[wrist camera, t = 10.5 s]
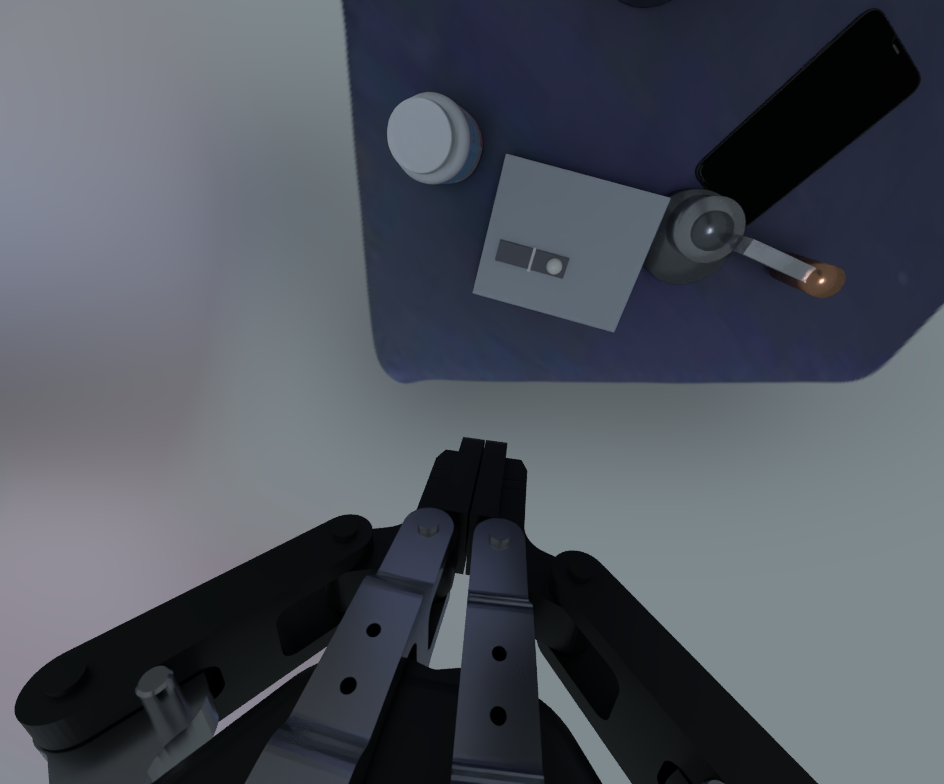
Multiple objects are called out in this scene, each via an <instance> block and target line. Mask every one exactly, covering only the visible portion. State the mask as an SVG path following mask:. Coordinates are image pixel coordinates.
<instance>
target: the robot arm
mask: <svg viewBox="0 0 944 784" xmlns="http://www.w3.org/2000/svg"><path fill="white" fill-rule="evenodd" d="M620 1H621V2H624V3H626V4H628V5H631V6H636V7H652V6H658V5H661V4H663V3H666V2H668V1H671V0H620ZM484 444H485V448H484ZM506 451H507V443H503V442H497V441H489V440H486V443H485V440H481V439H474V438H466V437H463V439H462V442H461V446H460V449H459V451H452V450H445V451H444V452H443V453H441V454H440V455H439V456H438V457H437V458H436V460H435V463H434V465H433V468H432V471H431V473H430V476H429V479H428V481H427V484H426V486H425V489H424V492H423V495H422V497H421V500H420V502H419V505H418V508H417V510H415V511H413V512H412V513H410V514H409V515H408V516H407V517H406V518H405V520H404V522H403V523H402V524H400V525H397V526H393V527H386V528H378V529H377V528H376V529H372V525H371V524H370V522H369V521H368V520H367V519H366V518H364V517H362V516H359V515H352V514H349V515H342V516H338V517H336V518H333V519H331V520H329V521H327V522H325V523H324V524H321V525H319V526H317V527H315V528H313V529H311V530H309V531H307V532H305V533H303V534H301V535H299V536H297V537H295V538H293V539H291V540H289V541H287V542H285V543H283V544H281V545H279V546H277V547H275V548H273V549H271V550H269V551H267V552H265V553H263V554H261V555H259V556H257V557H255V558H253V559H251V560H249V561H248V562H245V563H243V564H241V565H239V566H237V567H235V568H233V569H231V570H229V571H227V572H225V573H223V574H221V575H219V576H217V577H215V578H213V579H211V580H209V581H207V582H205V583H203V584H201V585H199V586H197V587H195V588H193V589H191V590H189V591H187V592H185V593H183V594H181V595H179V596H177V597H175V598H173V599H171V600H169V601H167V602H165V603H163V604H161V605H159V606H157V607H155V608H153V609H151V610H149V611H147V612H145V613H143V614H141V615H139V616H137V617H135V618H133V619H131V620H129V621H127V622H125V623H123V624H121V625H119V626H117V627H115V628H113V629H111V630H109V631H107V632H105V633H104V634H101V635H99V636H97V637H95V638H93V639H91V640H89V641H87V642H85V643H83V644H81V645H79V646H77V647H75V648H73V649H71V650H69V651H67V652H65V653H63V654H61V655H60V656H58V657H56V658H55V659H53V660H52V661H50V662H49V663H47V664H46V665H45V666H44V667H42V668H41V669H40V670H39V671H38V672H36V673H35V674H34V675H33V677H31V679H30V680H29V681H28V682H27V683H26V685H25V686H24V687H23V689H22V690H21V692H20V694H19V696H18V698H17V700H16V704H15V715H16V718H17V719H18V721H19V722H20V723H21V724H22V725H23V727H24V728H25V729H26V730H27V732H28V733H29V734H30V735H31V737H32V738H33V743H34V746H35V747H36V748H37V749H38V751H39V752H40V753H41V754H42V756H43V757H44V758H45V759H46V760H47V762H48V773H49V784H602V783H601V781H600V779H599V778H598V776H597V774H596V773H595V771H594V769H593V768H592V766H591V764H590V763H589V761H588V759H587V758H586V756H585V755H584V753H583V751H582V750H581V748H580V746H579V745H578V743H577V741H576V740H575V738H574V736H573V735H572V733H571V732H570V730H569V729H568V727H567V726H566V725H565V724H564V723H563V721H562V720H561V718H560V717H559V716H558V715H557V714H556V713H555V712H554V711H553V710H552V709H551V708H550V707H549V706H547V705H546V704H545V703H544V702H543V701H542V700H540V699H539V698H538V682H537V667H536V650H535V639H536V640H537V643H538V646H539V649H540V651H541V652H542V654H543V655H544V657H545V658H546V660H547V661H548V663H549V664H550V666H551V667H552V669H553V670H554V671H555V673H556V674H557V676H558V677H559V679H560V680H561V681H562V683H563V684H564V686H565V687H566V689H567V690H568V692H569V693H570V694H571V696H572V697H573V699H574V700H575V702H576V703H577V705H578V706H579V708H580V709H581V711H582V712H583V713H584V715H585V716H586V718H587V719H588V721H589V722H590V724H591V725H592V726H593V728H594V729H595V731H596V732H597V734H598V735H599V737H600V738H601V740H602V741H603V742H604V744H605V745H606V747H607V748H608V750H609V751H610V753H611V754H612V756H613V757H614V758H615V760H616V761H617V762H618V764H619V766H620V767H621V768H622V770H623V771H624V773H625V774H626V776H627V777H628V779H629V780H630V781H631V783H632V784H818V783H817V782H816V781H815V780H814V779H813V778H812V777H811V776H810V775H809V774H808V773H807V772H806V771H805V770H804V769H803V768H802V767H801V766H800V765H799V764H798V763H797V762H796V761H795V760H794V759H793V758H792V757H791V756H790V755H789V754H788V753H787V752H786V751H785V750H784V749H783V748H782V747H781V746H780V745H779V744H778V743H777V742H776V741H775V740H774V738H772V736H771V735H770V734H769V733H768V732H767V731H766V730H765V729H764V728H762V726H761V725H760V724H758V722H757V721H756V720H755V719H754V718H753V717H752V716H751V715H750V714H749V713H748V712H747V711H746V710H745V709H744V708H743V707H742V706H741V705H740V704H739V703H738V702H737V701H736V700H735V699H734V698H733V697H732V696H731V695H730V694H729V693H728V692H727V691H726V690H725V689H724V688H723V687H722V686H721V685H720V684H719V683H718V682H717V681H716V680H715V679H714V678H713V677H712V676H711V675H710V674H709V672H707V671H706V669H704V667H703V666H702V665H701V664H700V663H699V662H698V661H697V660H696V659H695V658H694V657H693V656H692V655H691V654H690V653H689V652H688V651H687V650H686V649H685V648H684V647H683V646H682V645H681V644H680V643H679V642H678V641H677V640H676V639H675V638H674V637H673V636H672V635H671V634H670V633H669V632H668V631H667V630H666V629H665V628H664V627H663V626H662V625H661V624H660V623H659V622H658V621H657V620H656V619H655V618H654V617H653V616H652V615H651V614H650V613H649V612H648V611H647V610H646V609H645V607H643V605H641V603H639V601H637V599H636V598H635V597H634V596H633V595H632V594H631V593H630V592H629V591H628V590H627V589H626V588H625V587H624V586H623V585H622V584H621V583H620V582H619V581H618V580H617V579H616V578H615V577H614V576H613V575H612V574H611V573H610V572H609V571H608V570H607V569H606V568H605V567H604V566H603V565H602V564H601V563H600V562H599V561H598V560H597V559H595V558H594V557H592V556H590V555H589V554H586V553H584V552H580V551H565V552H562V553H560V554H558V555H557V556H556V557H554V556H552V555H550V554H548V553H546V552H544V551H541V550H540V549H538V548H537V547H536V546H534V545H533V544H532V543H531V542H530V541H529V539H528V538H527V536H526V534H525V530H524V522H525V521H524V520H525V503H526V502H525V501H526V482H527V469H526V468H525V466H524V464H523V462H522V460H517V459H510V458H506ZM466 557H467V563H466V575H470V579H469V589H468V599H467V609H466V620H465V631H464V642H463V653H462V664H461V668H452V669H440V670H435V669H431V668H429V663H430V659H431V655H432V652H433V649H434V646H435V642H436V639H437V636H438V633H439V629H440V626H441V623H442V620H443V617H444V613H445V610H446V607H447V604H448V601H449V597H450V590H451V588H452V584H453V580H454V576H455V573H459V574H463V572H464V567H465V562H466ZM325 647H327V648H326V650H325V652H324V654H323V655H322V657H321V659H320V661H319V663H317V664H315V665H313V666H311V667H309V668H307V669H305V670H304V671H302V672H301V673H299V674H297V675H296V676H294V677H293V678H292V679H290V680H289V681H287V682H286V683H285V684H283V685H282V686H281V687H280V688H278V689H277V690H275V691H274V692H273V693H271V694H270V695H269V696H267V697H266V698H265V699H263V700H262V701H261V702H259V703H258V704H257V705H255V706H254V707H253V708H252V709H250V710H249V711H247V712H246V713H245V714H243V715H242V716H241V717H240V718H238V719H237V720H235V721H234V722H233V723H232V724H230V725H229V726H227V727H226V728H225V729H224V730H222V731H221V732H219V733H218V734H217V735H215V736H214V737H213V735H214V733H215V731H216V728H217V725H218V722H219V721H221V720H222V719H223V718H225V717H226V716H228V715H229V714H231V713H232V712H233V711H235V710H236V709H238V708H239V707H241V706H242V705H244V704H245V703H246V702H248V701H249V700H251V699H252V698H254V697H255V696H257V695H258V694H259V693H260V692H262V691H264V690H265V689H266V688H268V687H269V686H271V685H272V684H274V683H275V682H276V681H278V680H279V679H281V678H282V677H284V676H285V675H286V674H288V673H290V672H291V671H292V670H294V669H295V668H297V667H298V666H299V665H301V664H302V663H304V662H305V661H307V660H308V659H310V658H311V657H312V656H314V655H315V654H317V653H318V652H319V651H321V650H322V649H324V648H325ZM212 737H213V738H212Z"/></svg>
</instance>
